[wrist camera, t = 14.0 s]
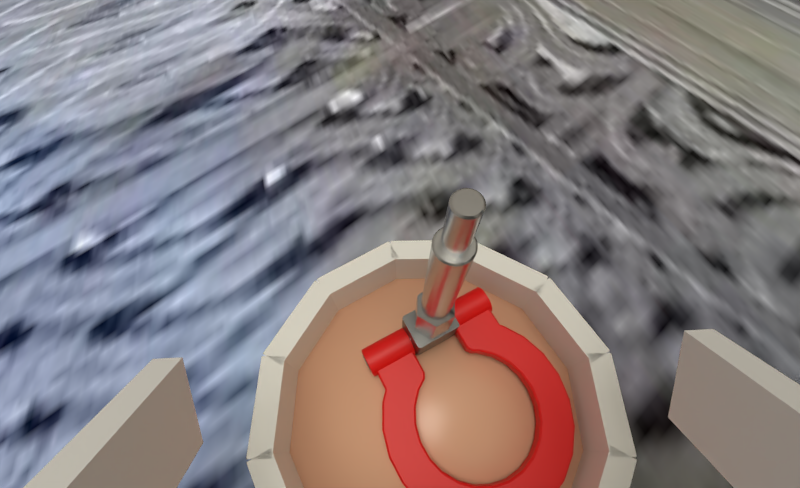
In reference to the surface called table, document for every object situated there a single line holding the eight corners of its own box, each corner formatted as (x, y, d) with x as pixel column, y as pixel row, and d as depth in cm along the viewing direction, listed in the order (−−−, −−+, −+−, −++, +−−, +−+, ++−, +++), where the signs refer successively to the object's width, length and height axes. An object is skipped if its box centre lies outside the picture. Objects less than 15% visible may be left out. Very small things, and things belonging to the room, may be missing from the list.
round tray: (471, 223, 23) (480, 193, 21) (668, 475, 17) (716, 480, 15) (230, 353, 20) (202, 338, 17) (369, 720, 14) (360, 786, 11)
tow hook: (603, 456, 18) (488, 283, 21) (1011, 517, 6) (600, 102, 9) (442, 568, 16) (344, 360, 19) (563, 968, 4) (261, 260, 8)
